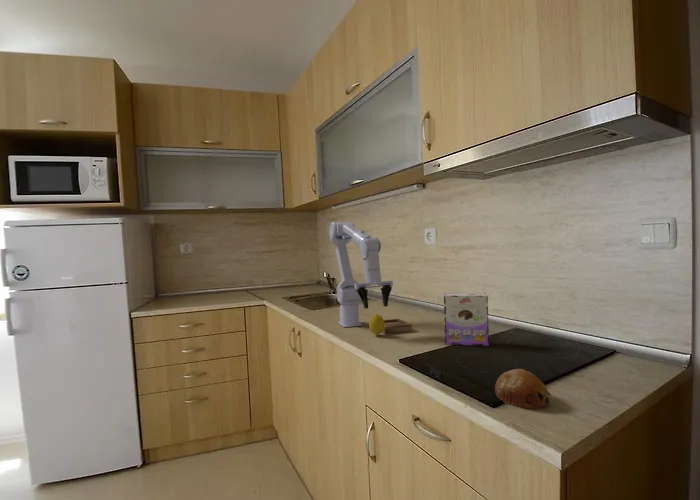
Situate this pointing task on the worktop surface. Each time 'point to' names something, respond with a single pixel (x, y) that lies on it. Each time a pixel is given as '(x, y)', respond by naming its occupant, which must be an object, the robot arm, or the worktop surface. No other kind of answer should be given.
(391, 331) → the base
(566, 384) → the worktop surface
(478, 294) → the candy box
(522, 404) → the reddish brown rounded lump
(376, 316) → the lemon
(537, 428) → the worktop surface
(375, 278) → the robot arm
